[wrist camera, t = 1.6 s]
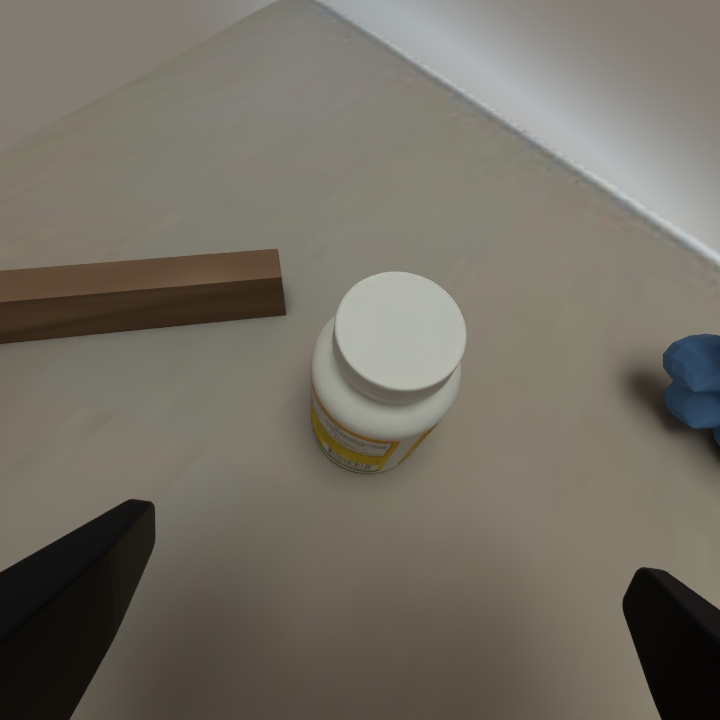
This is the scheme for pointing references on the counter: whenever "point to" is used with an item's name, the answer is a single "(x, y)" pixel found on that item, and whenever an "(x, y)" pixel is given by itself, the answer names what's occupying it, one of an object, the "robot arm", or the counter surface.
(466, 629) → the counter surface
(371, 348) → the supplement bottle
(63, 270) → the walnut corner walls
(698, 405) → the blue knobby flower
